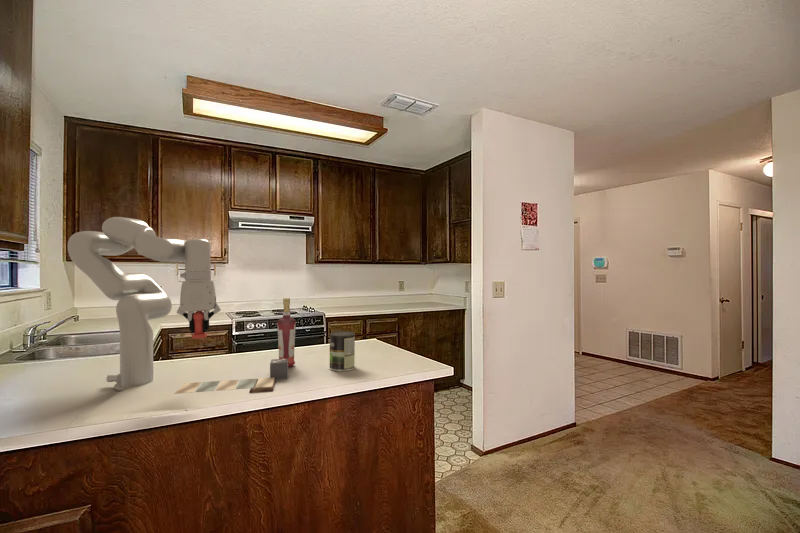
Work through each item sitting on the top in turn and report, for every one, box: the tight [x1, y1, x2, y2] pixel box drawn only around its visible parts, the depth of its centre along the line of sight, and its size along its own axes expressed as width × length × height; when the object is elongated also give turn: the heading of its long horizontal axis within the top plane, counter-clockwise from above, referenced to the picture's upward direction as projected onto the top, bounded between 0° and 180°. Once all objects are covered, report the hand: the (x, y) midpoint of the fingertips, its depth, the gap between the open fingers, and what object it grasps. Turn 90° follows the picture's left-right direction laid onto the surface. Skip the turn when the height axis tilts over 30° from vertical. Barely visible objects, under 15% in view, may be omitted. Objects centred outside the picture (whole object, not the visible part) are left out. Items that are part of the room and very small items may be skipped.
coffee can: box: [328, 330, 356, 372], centre depth 156 cm, size 10×10×14 cm
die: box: [269, 358, 289, 380], centre depth 143 cm, size 6×6×6 cm
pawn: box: [191, 311, 208, 340], centre depth 127 cm, size 4×4×9 cm
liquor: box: [277, 297, 297, 369], centre depth 158 cm, size 7×7×28 cm
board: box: [173, 377, 276, 395], centre depth 129 cm, size 30×12×1 cm, turn 104°
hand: (199, 331), depth 127 cm, fingers closed on pawn, 3 cm apart
